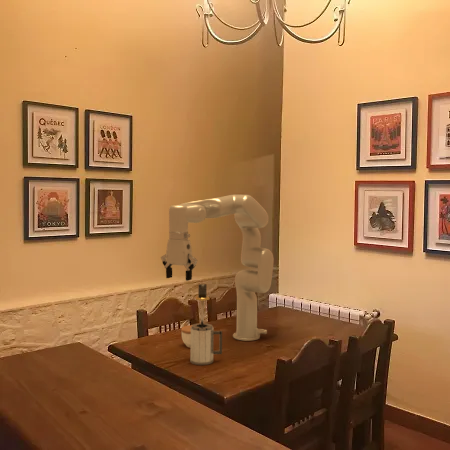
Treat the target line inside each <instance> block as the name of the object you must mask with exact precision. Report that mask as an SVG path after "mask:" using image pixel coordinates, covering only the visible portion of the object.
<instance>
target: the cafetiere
mask: <svg viewBox="0 0 450 450" xmlns="http://www.w3.org/2000/svg"><path fill="white" fill-rule="evenodd" d="M191 325H192V327H191V348H190V352H189V354H190V358H189V362H190V363H191V364H192V365H196V366H208V365H211V364H213V363H214V355H222V354H223V330H214V326H213V324H210V323H207V322H206V323H205V322H203V327H201V322H199V323H194V324H193V323H192V324H191ZM215 335H219V338H218V339H219V344H218V345H219V346H218V347H219V349H218V350H214V337H215Z"/></svg>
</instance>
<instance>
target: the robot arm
mask: <svg viewBox="0 0 450 450" xmlns="http://www.w3.org/2000/svg"><path fill="white" fill-rule="evenodd" d="M230 215H233V216H234V221H235V224H236V225H237V226H238V227H239V229H240V232H241V234H242V244H241V252H240V253H241V254H240V262H241V265H243V266H244V267H247V268H254V269H257V270H251V269H241V270H239V271H238V272H236V275H235V277H234V284H235V285H234V286H235V291H236V331H235V332H234V333H233V334H232V338H233V339H235V340H237V341H244V342H245V341H246V342H249V341H257V340H259V339H261V335H262V334H263V335H267V334H268V329H263V328H258V297H257V294H256V293H260V294H265V293H267V292H269V291H270V289H271V286H272V280H273V271H274V261H275V259H274V254H273V252H272V251H271V250H270V249H269V248H265V247H261V243H262V234H261V232H260V229H262V228H265V227H266V226H267V225H268V223H269V221H270V220H269V219H270V218H269V214H268V212H267V211H266V209H265V208H264V207H263V206H262V205H261V204H260V202H258V201H257V200H256V199H255V198H254V197H253V196H252V195H250V194H229V195H225V196H219V197H214V198H206V199H202V200H195V201H194V200H193V201H189V202H187V201H186V202H183V203H180V204H175V205H173V204H172V205H170V206H169V208H168V239H167V244H166V253H165V254H163V255H161V256H160V260H161V262H162V265H163V266H164V269H165V278H166V279H170V278H171V279H172V278H173V267H172V266H173V265H174V266H184V267H185V269H186V270H185V281H186V282H188V281H191V280H192V279H193V270H194V268H195V267H196V266H197V262H198V259H197V258H195V256H193V249H192V243H191V240H190V239H189V238H190V237H191V234H189V223H192V224H199V223H202V222H203V221H205V219H217V218H218V219H219V218H222V217H226V216H230Z"/></svg>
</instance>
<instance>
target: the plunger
mask: <svg viewBox="0 0 450 450" xmlns="http://www.w3.org/2000/svg"><path fill="white" fill-rule="evenodd" d="M207 288H208V286H207V284H205V283H199V284H198V290H197V291H198V295H196V296H195V301H200V323H201V327H203V323H204V305H205V304H204V302H205V301H210V296H208V295H207Z"/></svg>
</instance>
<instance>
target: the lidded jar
mask: <svg viewBox="0 0 450 450" xmlns="http://www.w3.org/2000/svg"><path fill="white" fill-rule="evenodd" d="M192 325H193V324H191V325H190V324H189V325H185V326H182V327H181V329H180V331H181V340H182V342H183V343H184V345H185V346H186V347H187V348H190V349H191V327H192Z"/></svg>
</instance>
